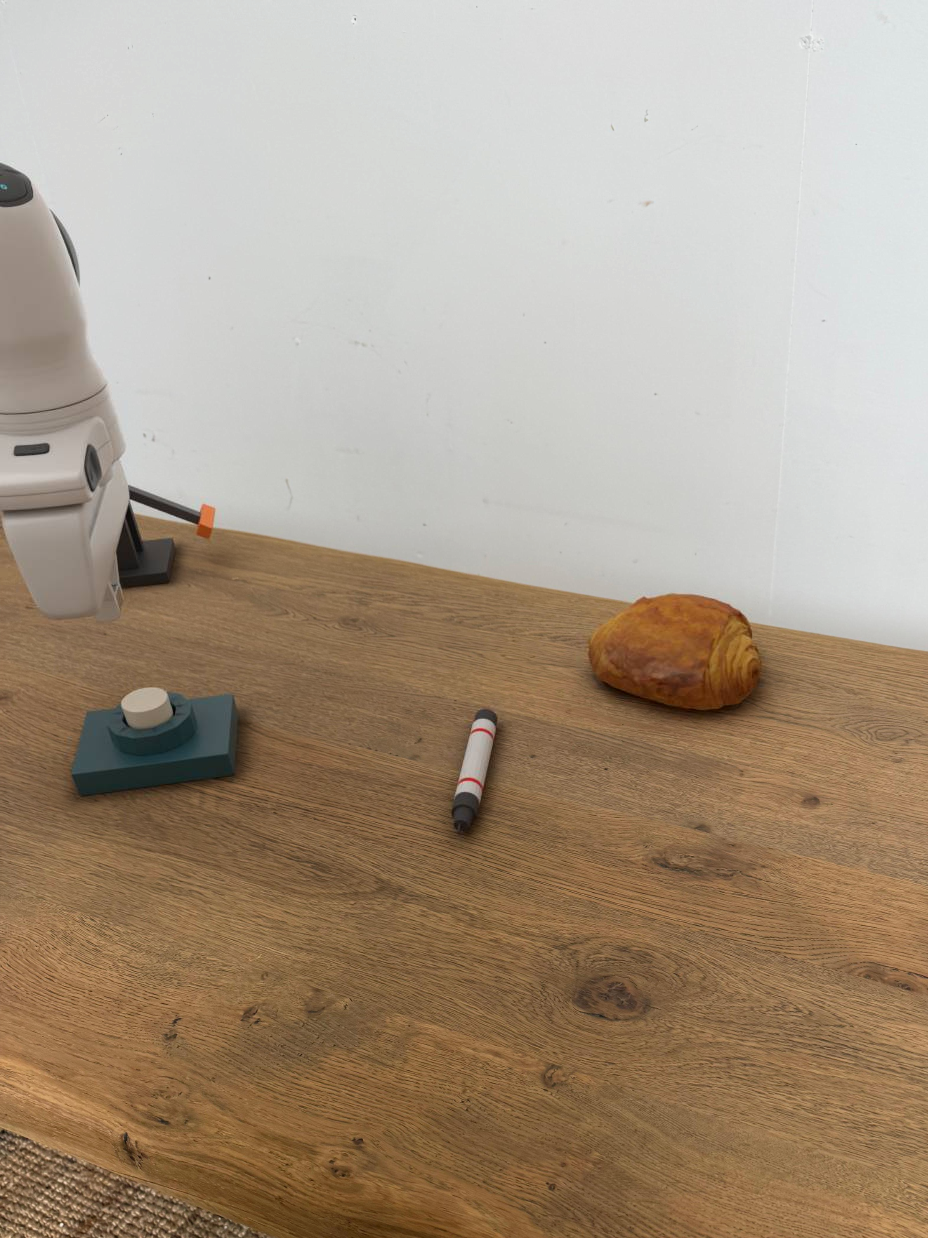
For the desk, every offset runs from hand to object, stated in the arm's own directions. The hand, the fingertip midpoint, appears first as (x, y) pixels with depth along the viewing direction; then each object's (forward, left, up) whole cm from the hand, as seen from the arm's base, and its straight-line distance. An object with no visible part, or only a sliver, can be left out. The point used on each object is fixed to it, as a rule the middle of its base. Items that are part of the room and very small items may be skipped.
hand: (111, 612), depth 89 cm
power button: (0, 0, -10) cm, 10 cm away
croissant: (+45, +2, -14) cm, 47 cm away
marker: (+25, -10, -14) cm, 30 cm away
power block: (0, 0, -13) cm, 13 cm away
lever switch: (-3, +35, -7) cm, 36 cm away
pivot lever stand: (-7, +35, -13) cm, 38 cm away
